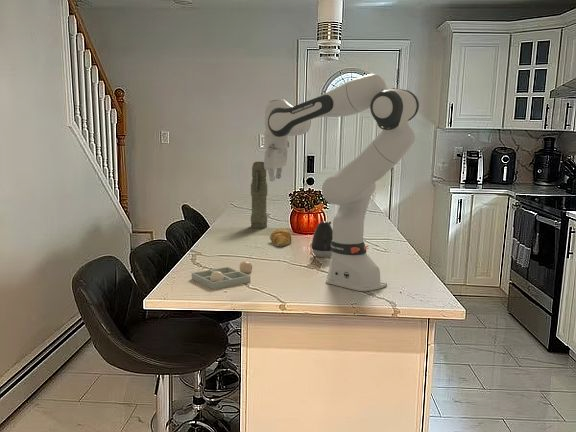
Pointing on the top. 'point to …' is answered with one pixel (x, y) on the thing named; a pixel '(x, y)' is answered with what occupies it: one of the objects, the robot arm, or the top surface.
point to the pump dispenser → (322, 240)
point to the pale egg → (216, 276)
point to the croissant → (281, 237)
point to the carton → (230, 278)
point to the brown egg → (245, 267)
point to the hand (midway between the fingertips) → (275, 179)
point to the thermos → (258, 196)
